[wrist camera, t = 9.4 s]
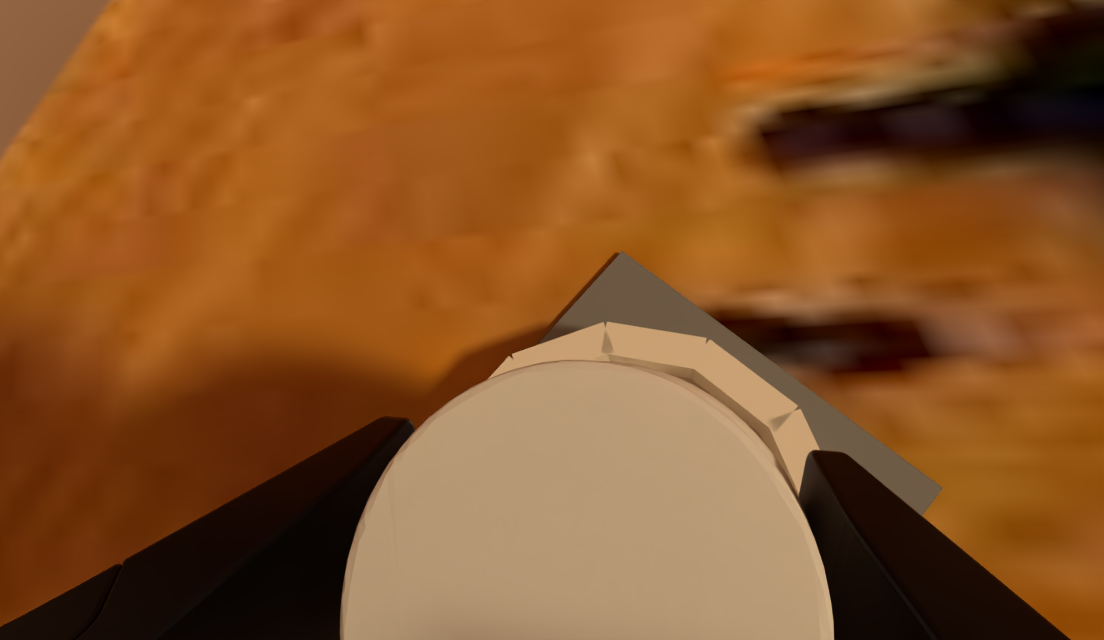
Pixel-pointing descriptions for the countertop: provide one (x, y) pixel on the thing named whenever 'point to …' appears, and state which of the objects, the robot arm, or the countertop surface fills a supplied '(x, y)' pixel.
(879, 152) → the countertop surface
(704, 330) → the placemat
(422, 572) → the pill bottle
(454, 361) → the countertop surface
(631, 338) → the dish
